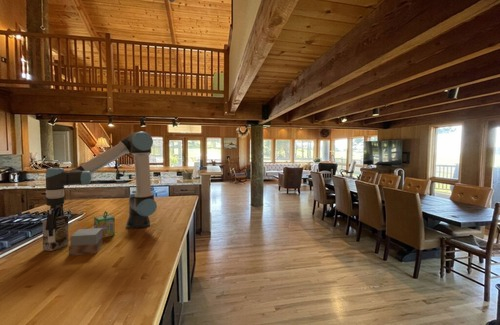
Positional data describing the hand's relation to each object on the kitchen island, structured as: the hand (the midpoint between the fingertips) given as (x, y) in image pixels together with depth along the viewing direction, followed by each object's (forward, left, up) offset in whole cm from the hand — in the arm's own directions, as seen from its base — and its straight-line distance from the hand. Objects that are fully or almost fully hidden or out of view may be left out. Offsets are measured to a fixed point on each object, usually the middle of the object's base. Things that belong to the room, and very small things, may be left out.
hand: (56, 238), depth 127 cm
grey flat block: (-16, +8, 0) cm, 18 cm away
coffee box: (0, 0, -5) cm, 5 cm away
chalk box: (-20, -13, -5) cm, 24 cm away
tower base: (-16, +8, -5) cm, 18 cm away
